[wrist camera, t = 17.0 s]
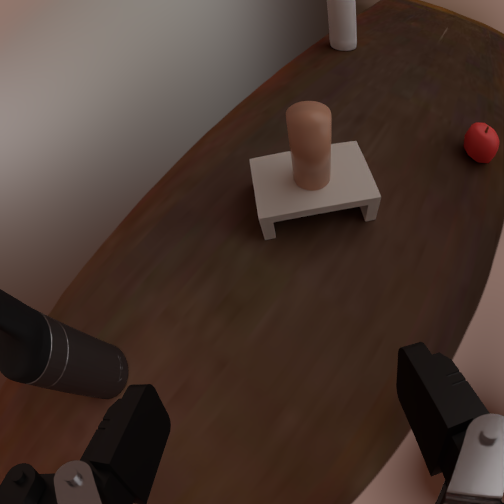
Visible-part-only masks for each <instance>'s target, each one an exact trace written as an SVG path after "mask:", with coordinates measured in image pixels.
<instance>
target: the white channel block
mask: <svg viewBox="0 0 504 504" xmlns="http://www.w3.org/2000/svg"><path fill="white" fill-rule="evenodd" d="M249 160H250V166H251V173H252V179H253V186H254V192H255V199H256V206H257V212H258V219H259V222H260V226H261V229H262V232H263V235H264V239H265V240H269V239H274V238H276V233H275V228H274V222H278V221H283V220H288V219H294V218H299V217H304V216H310V215H315V214H321V213H326V212H332V211H337V210H343V209H348V208H354V207H360V208H361V211H362V214H363V217H364V220H365V221H370V220H376V216H377V212H378V208H379V204H380V200H381V195H380V193H379V191H378V188H377V186H376V183H375V181H374V179H373V177H372V174H371V172H370V170H369V168H368V165H367V163H366V161H365V159H364V157H363V154H362V152H361V150H360V148H359V146H358V144H357V142H356V141H351V142H344V143H337V144H331V174H330V181H329V183H328V184H327V185H326V186H325V187H324V188H322V189H319V190H314V191H310V190H305V189H302V188H300V187H299V186H298V185H297V184H296V183H295V181H294V178H293V169H292V161H291V152H290V151H289V152H283V153H278V154H273V155H268V156H263V157H258V158H253V159H249Z"/></svg>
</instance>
